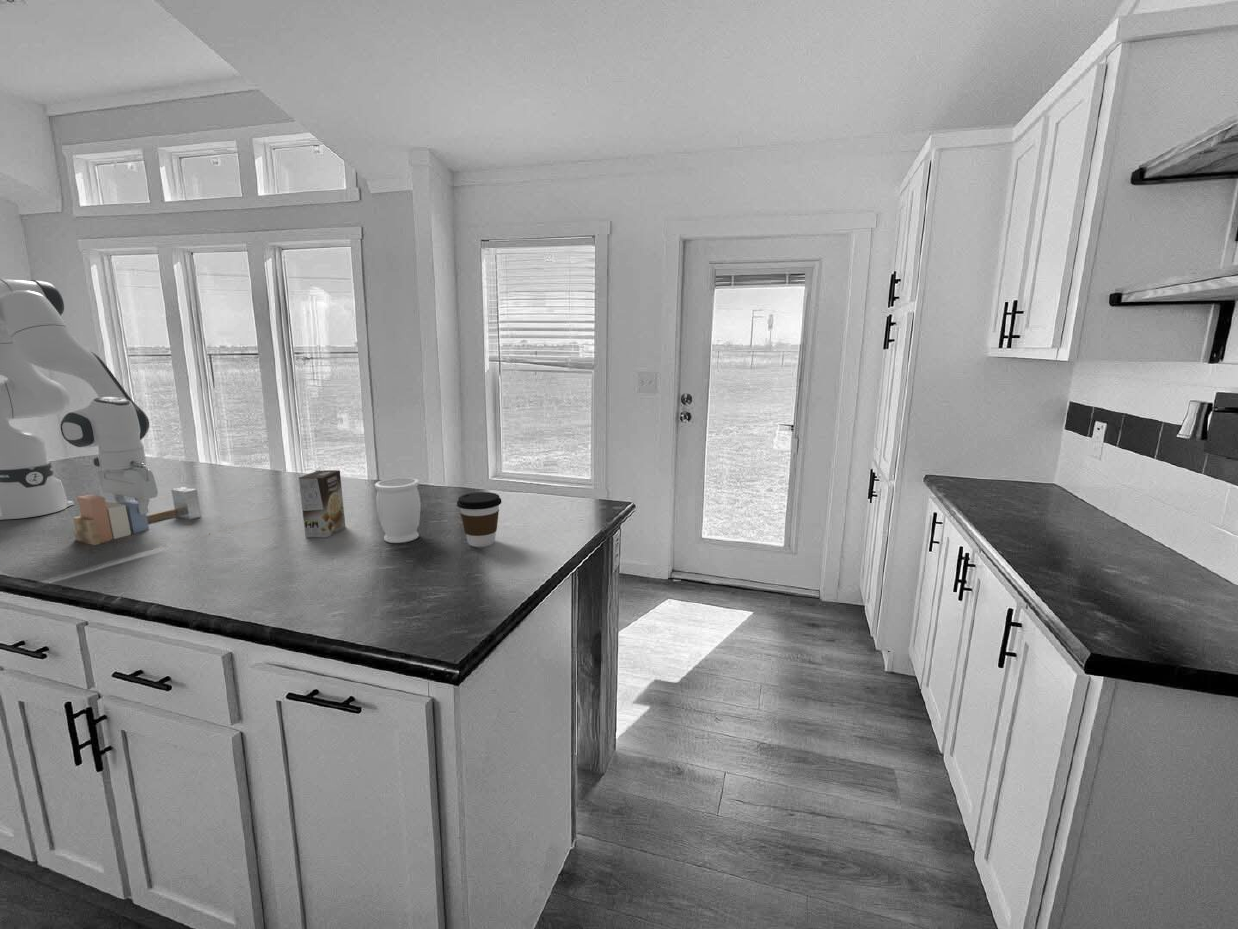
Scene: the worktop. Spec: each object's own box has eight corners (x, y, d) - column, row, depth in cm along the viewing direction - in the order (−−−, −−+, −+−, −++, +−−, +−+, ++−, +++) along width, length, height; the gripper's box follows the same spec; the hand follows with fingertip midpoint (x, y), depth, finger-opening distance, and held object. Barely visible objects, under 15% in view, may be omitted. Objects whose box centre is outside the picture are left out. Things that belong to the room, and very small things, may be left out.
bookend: (176, 516, 163) (171, 489, 161) (187, 513, 166) (183, 487, 164) (189, 519, 160) (185, 491, 159) (201, 516, 163) (196, 489, 161)
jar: (431, 535, 151) (427, 479, 148) (401, 547, 142) (396, 488, 138) (401, 529, 155) (396, 475, 152) (370, 541, 146) (365, 484, 143)
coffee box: (328, 538, 149) (322, 477, 145) (304, 537, 149) (297, 477, 145) (346, 526, 158) (340, 469, 154) (323, 526, 158) (317, 469, 154)
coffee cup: (450, 547, 142) (447, 500, 139) (475, 533, 152) (473, 489, 149) (488, 553, 138) (485, 505, 135) (511, 538, 148) (509, 493, 145)
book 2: (99, 535, 148) (93, 505, 146) (116, 531, 151) (110, 501, 149) (114, 539, 145) (108, 508, 143) (131, 534, 148) (125, 505, 146)
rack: (76, 543, 145) (70, 517, 143) (185, 516, 167) (181, 493, 165) (95, 548, 141) (89, 521, 140) (203, 520, 163) (199, 496, 162)
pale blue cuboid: (123, 530, 152) (118, 503, 150) (138, 526, 155) (133, 500, 153) (134, 533, 149) (128, 505, 148) (149, 529, 152) (144, 502, 151)
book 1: (86, 538, 145) (77, 497, 143) (99, 535, 148) (91, 494, 145) (99, 542, 142) (90, 500, 140) (112, 539, 145) (104, 497, 143)
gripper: (160, 461, 146) (169, 513, 149) (117, 454, 155) (126, 503, 158) (131, 466, 141) (141, 520, 144) (88, 459, 149) (98, 509, 152)
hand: (133, 511), depth 151 cm, fingers open, 8 cm apart
